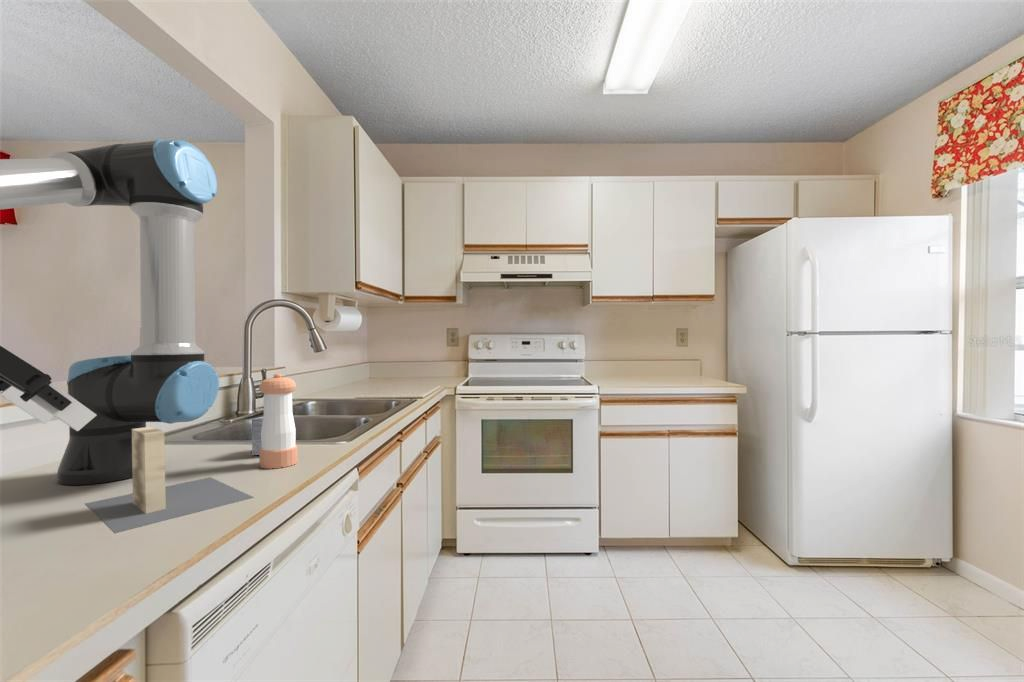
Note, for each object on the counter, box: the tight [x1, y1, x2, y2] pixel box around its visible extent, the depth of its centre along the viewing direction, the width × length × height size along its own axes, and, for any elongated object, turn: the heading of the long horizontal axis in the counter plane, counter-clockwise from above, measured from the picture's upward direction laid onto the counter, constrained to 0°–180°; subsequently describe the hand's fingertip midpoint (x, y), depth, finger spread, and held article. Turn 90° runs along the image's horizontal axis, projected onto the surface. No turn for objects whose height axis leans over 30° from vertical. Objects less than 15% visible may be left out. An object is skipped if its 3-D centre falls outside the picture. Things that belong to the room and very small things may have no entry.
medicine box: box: [251, 415, 264, 457], centre depth 112 cm, size 8×4×9 cm, turn 168°
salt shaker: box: [258, 373, 299, 470], centre depth 101 cm, size 7×7×19 cm
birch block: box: [132, 426, 166, 513], centre depth 75 cm, size 7×2×12 cm, turn 51°
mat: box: [84, 477, 255, 534], centre depth 78 cm, size 19×18×1 cm
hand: (69, 419), depth 67 cm, fingers open, 13 cm apart
